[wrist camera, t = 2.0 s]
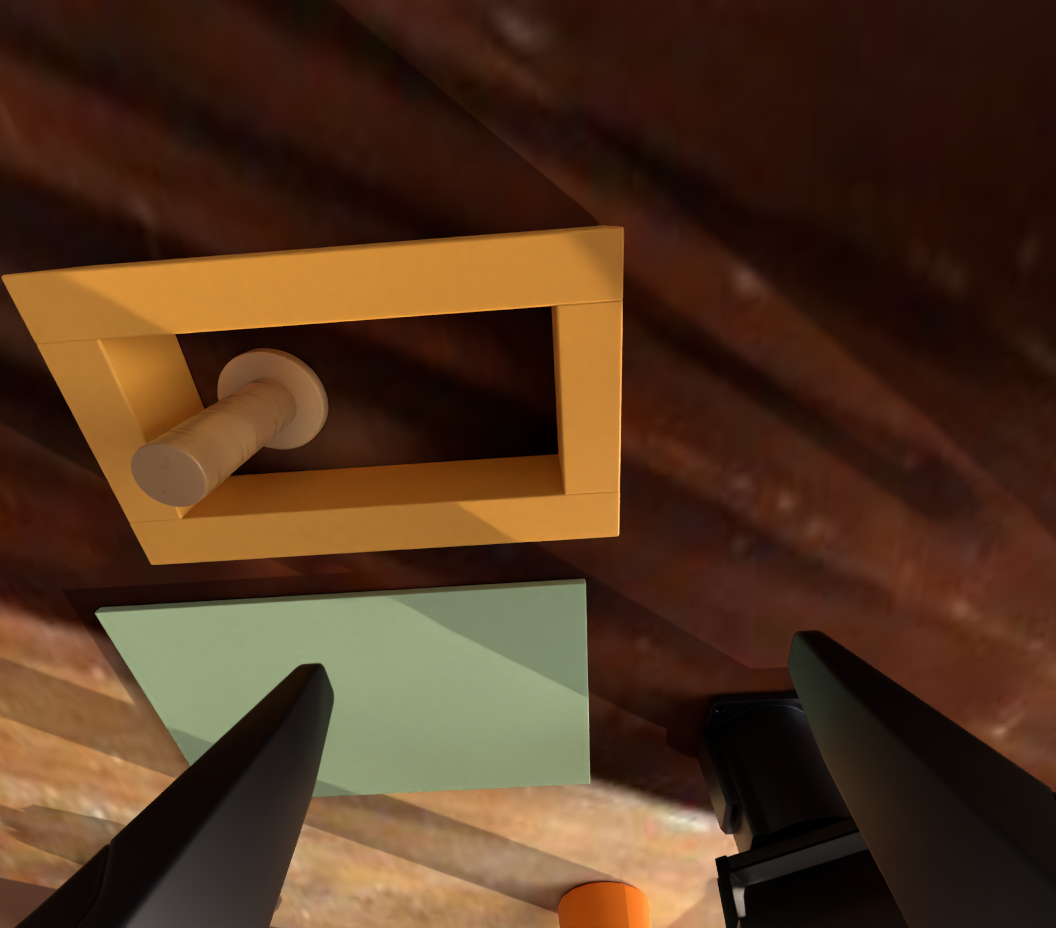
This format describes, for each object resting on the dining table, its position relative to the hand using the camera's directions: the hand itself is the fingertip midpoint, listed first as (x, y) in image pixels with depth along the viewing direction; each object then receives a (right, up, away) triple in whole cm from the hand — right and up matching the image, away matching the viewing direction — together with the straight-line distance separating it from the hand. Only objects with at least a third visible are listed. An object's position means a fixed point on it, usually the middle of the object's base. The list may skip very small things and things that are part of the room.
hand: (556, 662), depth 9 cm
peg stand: (-10, +6, +10) cm, 16 cm away
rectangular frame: (-6, +7, +10) cm, 13 cm away
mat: (-9, -10, +18) cm, 22 cm away
